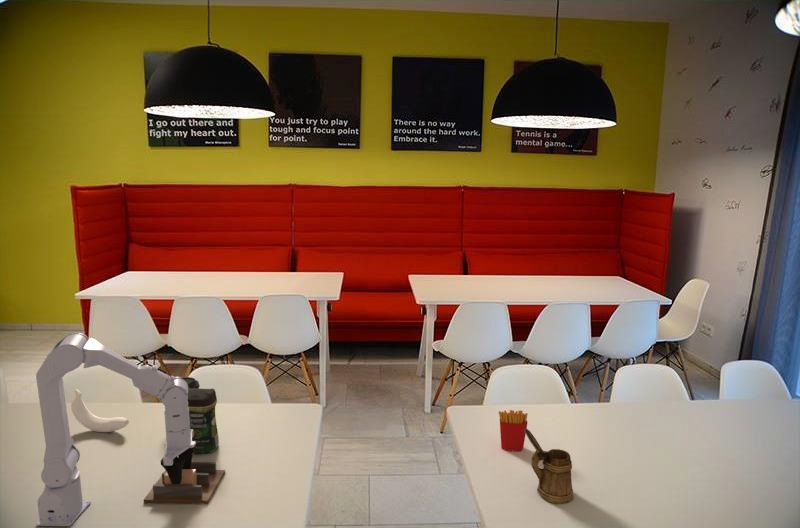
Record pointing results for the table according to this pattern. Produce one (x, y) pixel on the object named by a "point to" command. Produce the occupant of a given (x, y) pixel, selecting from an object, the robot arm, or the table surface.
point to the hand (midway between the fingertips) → (181, 476)
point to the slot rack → (188, 487)
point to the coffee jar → (203, 419)
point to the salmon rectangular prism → (184, 478)
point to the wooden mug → (552, 473)
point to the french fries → (512, 430)
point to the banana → (95, 417)
